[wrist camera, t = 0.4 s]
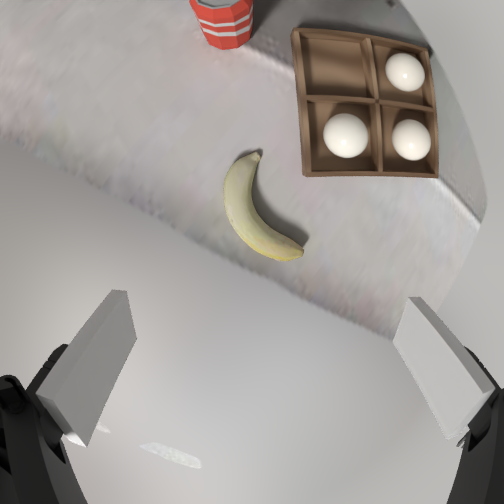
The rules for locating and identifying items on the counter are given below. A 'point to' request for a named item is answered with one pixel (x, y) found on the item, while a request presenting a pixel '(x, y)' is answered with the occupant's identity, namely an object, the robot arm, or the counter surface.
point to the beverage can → (224, 21)
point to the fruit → (253, 213)
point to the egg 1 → (345, 135)
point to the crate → (359, 102)
